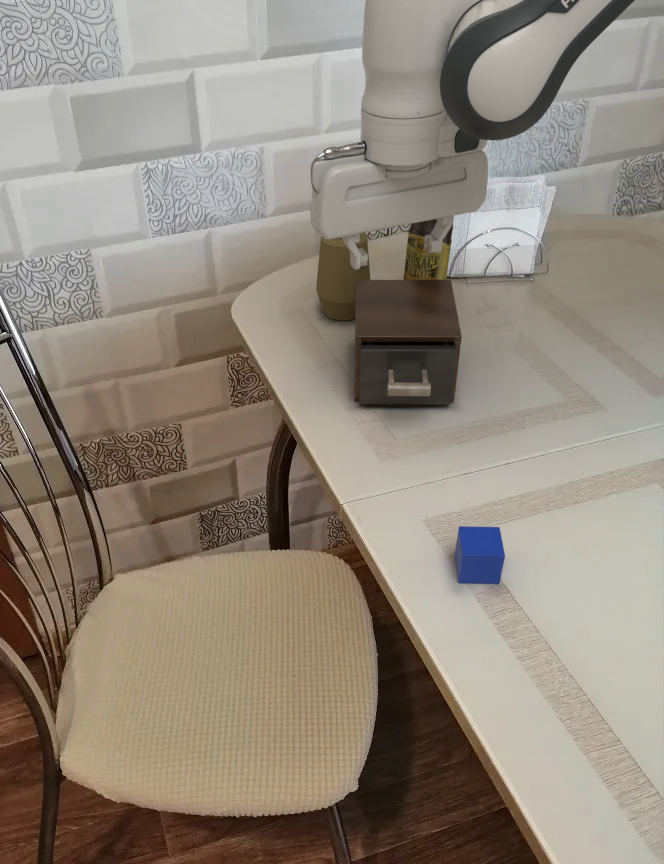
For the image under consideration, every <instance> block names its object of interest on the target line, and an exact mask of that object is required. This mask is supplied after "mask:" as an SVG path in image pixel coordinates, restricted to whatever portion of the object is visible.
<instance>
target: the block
mask: <svg viewBox="0 0 664 864" xmlns="http://www.w3.org/2000/svg"><path fill="white" fill-rule="evenodd" d="M505 558H506V553H505V547H504V543H503V538H502V533H501V528H500V526H464V525H463V526H458V531H457V537H456V544H455V551H454V559H455V566H456V574H457V583H458V584H483V585H484V584H487V585H488V584H489V585H490V584H492V585H499V584H500V582H501V578H502V573H503V569H504V563H505V560H506V559H505Z"/></svg>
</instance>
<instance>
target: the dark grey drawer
mask: <svg viewBox="0 0 664 864" xmlns="http://www.w3.org/2000/svg"><path fill="white" fill-rule="evenodd" d="M456 357H457V346H456V345H449V342H364V345H361V349H360V390H359V402H358V404H359V405H451V404H452V402H451V399H452V391H453V382H454V374H455V365H456Z"/></svg>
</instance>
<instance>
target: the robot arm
mask: <svg viewBox="0 0 664 864" xmlns="http://www.w3.org/2000/svg"><path fill="white" fill-rule="evenodd" d="M635 1H636V0H365V1H364V2H365V3H364V12H363V24H362V39H361V40H362V41H361V42H362V43H361V44H362V45H361V63H362V66H363V70H364V78H365V82H364V83H365V84H364V90H363V94H362V96H361V103H360V107H361V108H360V141H359V142H353V143H348V144H344V145H342V146H341V145H340V146H329V147H326V148H324V149H323V150H322V152H321V153H318V154H317V156H316V157H314V159H313V160H312V161H311V163H310V168H309V169H310V186H311V188H312V190H311V199H310V215H309V216H310V217H309V218H310V220H309V221H310V225H311V227H312V228H313V229H314V231H315V232H316V233H317V234H318V235H319V236H320V237H321V236H322V237H323V238H324V239H326V240H331V239H336V238H342V240H343V241H344V243H345V244H346V246H347V247H348V249H349V251H350V263H351V266H352V267H353V268H354V269H355V270H358V269H362V268H367V267H368V263H367V261H368V254H369V253H368V254H367V253H366V252H364V250H363V249H362V248H360V249H358V248H357V246H356V245H355V243H357V242H359V241H360V234H361V233H366V234H367V233H370V232H372V233H373V232H376V231H382V230H386V229H387V230H388V229H392V228H397V227H402V226H407V225H411V224H413V223H418V222H423V221H428V220H433V219H436V220H437V223H436V225H435V226H434V228H433V230H432V232H431V234H430V235H425V237H424V241H425V244H424V250H425V252H428V254H429V255H430V254H435V253H440V252H441V251H442V242H443V239H444V238H445V236H446V234H447V233H448V231H449V230H450V228H451V227H452V225H453V226H454V221H455V219H454V218H455V216H459V215H464V214H469V213H473V212H477V211H478V210H480V209H481V207H482V206H483V204H484V203H485V201H486V197H487V192H488V180H489V179H488V178H489V160H488V156H487V154H486V152H485V151H484V149H485V148H486V146H487V144H488V141H503V140H508V139H511V138H514V137H516V136H519V135H521V134H523V133H524V132H526V131H528V130H529V129H531V128H532V127H534V126H535V125H536V124H537V123H538V122H539V121H540V120H541V119H542V118H543V117H544V115H545V114H546V113H547V112H548V110H549V109H550V107H551V106H552V105H553V102H554V101H555V99H556V97H557V95H558V93H559V92H560V89H561V87H562V84H563V83H564V81H565V79H566V77H567V76H568V74H569V72H570V71H571V69H572V67H573V66H574V65H575V63H576V61H578V59H579V58H580V56H581V55H582V54H583V53H584V52H585V51H586V50H587V49H588V47H589V46H590V45H591V44H592V43H593V42H594V41H595V40H596V39H597V38H598V37H599V36H600V35H601V34H602V33H603V32H604V31H606V29H608V27H610V25H612V23H613V22H614V21H616V20H617V19H618V18H619V16H620V15H622V14H623V13H624V12H625V11H626V10H627V9H628V8H629V7H630V6H631V5H632V4H633V3H634V2H635Z"/></svg>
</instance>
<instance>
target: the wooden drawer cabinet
mask: <svg viewBox="0 0 664 864" xmlns="http://www.w3.org/2000/svg"><path fill="white" fill-rule="evenodd" d="M458 315H459V314H458V309H457V304H456V300H455V293H454V288H453V283H452V279H449V278H448V279H447V278H446V280H403V279H370V280H356V299H355V318H354V391H353V392H354V399H353V400H354V403H359V390H360V349H361V345H364V342H449V345H456V346H457V357H456V365H455V374H454V382H453V391H452V399H451V403H455V397H456V396H455V394H456V387H457V380H458V370H459V362H460V356H461V347H462V338H463V336H462V331H461V326H460V319H459V316H458Z"/></svg>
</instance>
